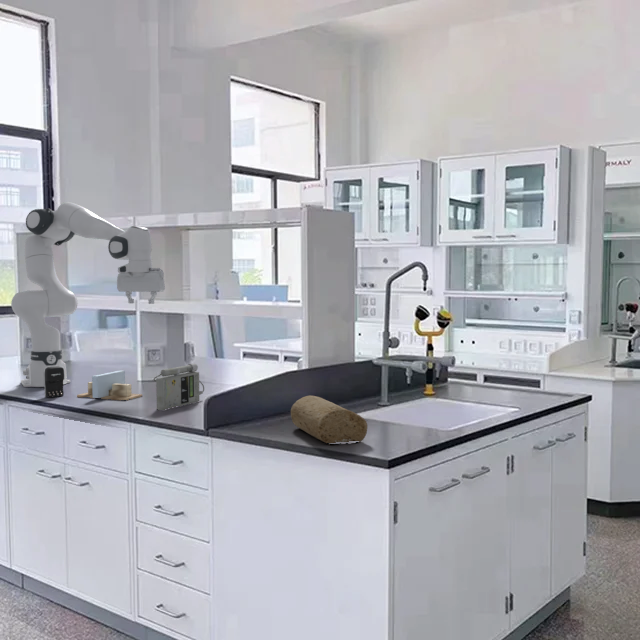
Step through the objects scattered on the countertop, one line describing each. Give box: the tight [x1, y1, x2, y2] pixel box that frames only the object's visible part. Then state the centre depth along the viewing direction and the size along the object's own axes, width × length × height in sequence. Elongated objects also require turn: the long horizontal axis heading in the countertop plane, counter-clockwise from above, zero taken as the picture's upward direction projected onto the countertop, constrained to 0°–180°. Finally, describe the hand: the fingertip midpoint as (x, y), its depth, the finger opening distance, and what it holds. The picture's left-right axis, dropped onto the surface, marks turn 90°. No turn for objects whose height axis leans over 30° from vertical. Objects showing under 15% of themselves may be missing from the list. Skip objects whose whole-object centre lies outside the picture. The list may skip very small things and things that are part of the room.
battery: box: [43, 366, 65, 398], centre depth 279 cm, size 7×4×11 cm, turn 132°
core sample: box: [290, 395, 368, 444], centre depth 213 cm, size 14×26×10 cm, turn 22°
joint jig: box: [76, 381, 143, 401], centre depth 279 cm, size 22×10×5 cm, turn 68°
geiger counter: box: [153, 362, 205, 411], centre depth 262 cm, size 14×6×25 cm
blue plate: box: [91, 370, 126, 399], centre depth 278 cm, size 16×2×8 cm, turn 158°
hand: (141, 303), depth 291 cm, fingers open, 8 cm apart
